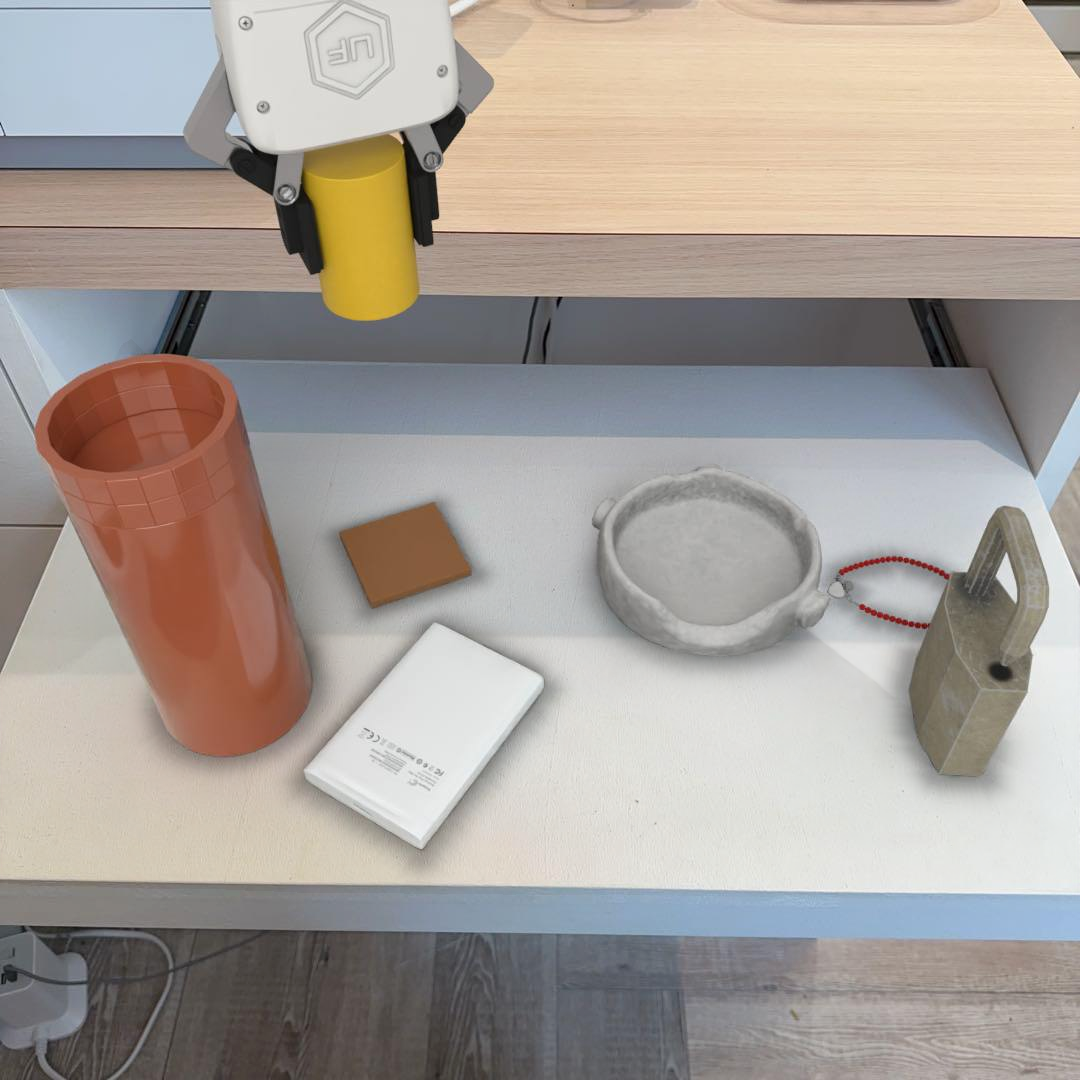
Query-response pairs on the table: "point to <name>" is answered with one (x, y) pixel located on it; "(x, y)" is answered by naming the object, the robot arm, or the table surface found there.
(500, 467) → the table surface
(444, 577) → the mat
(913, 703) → the padlock
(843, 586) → the necklace
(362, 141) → the yellow cylinder
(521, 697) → the hard drive
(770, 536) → the dish
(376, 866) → the table surface
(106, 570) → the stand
